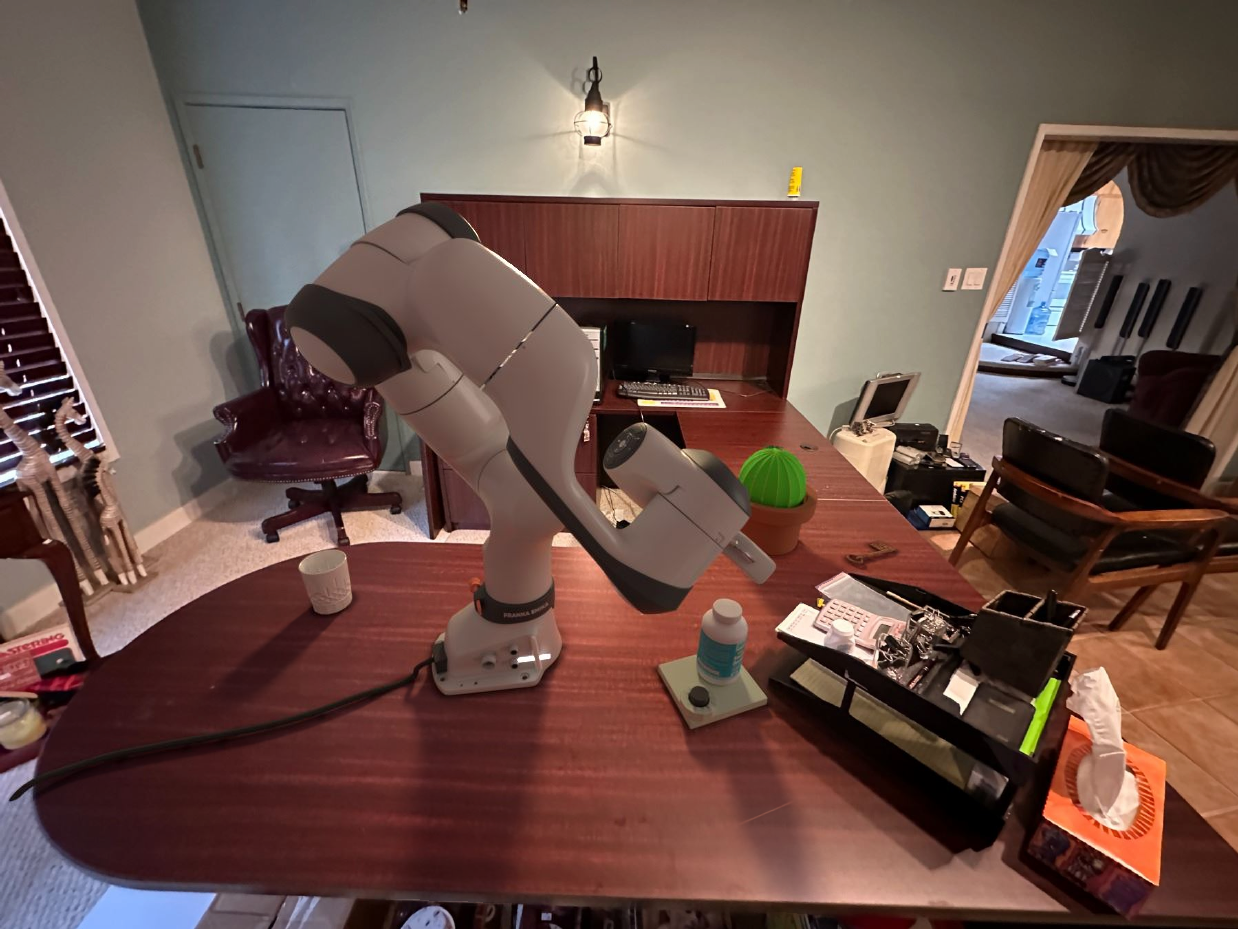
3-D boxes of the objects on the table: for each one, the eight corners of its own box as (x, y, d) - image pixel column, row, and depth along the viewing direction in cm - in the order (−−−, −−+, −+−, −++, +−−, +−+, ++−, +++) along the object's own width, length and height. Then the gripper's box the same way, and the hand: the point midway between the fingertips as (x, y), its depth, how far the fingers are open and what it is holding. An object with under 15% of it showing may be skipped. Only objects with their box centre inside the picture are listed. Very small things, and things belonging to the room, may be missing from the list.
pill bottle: (738, 692, 80) (750, 628, 75) (692, 682, 82) (702, 618, 76) (739, 658, 87) (751, 597, 82) (697, 649, 89) (706, 589, 83)
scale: (689, 732, 75) (691, 718, 74) (655, 671, 86) (656, 658, 84) (767, 706, 80) (770, 692, 79) (726, 651, 90) (728, 638, 89)
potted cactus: (796, 573, 113) (819, 474, 103) (705, 543, 123) (718, 450, 112) (813, 530, 131) (834, 442, 120) (733, 507, 140) (746, 424, 130)
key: (881, 543, 127) (837, 554, 121) (882, 540, 126) (837, 551, 121) (901, 554, 122) (856, 566, 116) (902, 551, 121) (857, 562, 116)
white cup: (364, 597, 99) (355, 556, 95) (328, 622, 93) (317, 579, 89) (337, 585, 102) (327, 545, 98) (300, 608, 96) (288, 566, 92)
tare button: (695, 710, 76) (696, 702, 75) (686, 695, 78) (687, 688, 78) (711, 705, 77) (712, 697, 76) (702, 690, 79) (703, 683, 78)
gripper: (758, 529, 59) (804, 576, 67) (669, 462, 75) (714, 507, 83) (723, 569, 59) (773, 611, 67) (641, 493, 75) (689, 535, 83)
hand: (739, 553), depth 75 cm, fingers open, 8 cm apart
